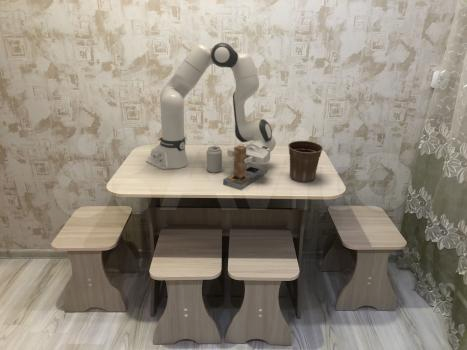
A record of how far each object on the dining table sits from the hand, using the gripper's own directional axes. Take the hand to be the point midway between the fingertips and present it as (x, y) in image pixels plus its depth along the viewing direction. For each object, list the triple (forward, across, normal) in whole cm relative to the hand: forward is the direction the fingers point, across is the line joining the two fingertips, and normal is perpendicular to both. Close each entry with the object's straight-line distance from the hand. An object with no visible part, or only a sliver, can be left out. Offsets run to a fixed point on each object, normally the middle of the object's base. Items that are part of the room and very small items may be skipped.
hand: (239, 160), depth 180 cm
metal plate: (-7, 0, +12) cm, 13 cm away
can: (-6, -18, +12) cm, 22 cm away
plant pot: (-24, +22, +12) cm, 34 cm away
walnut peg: (-1, 0, +8) cm, 8 cm away
